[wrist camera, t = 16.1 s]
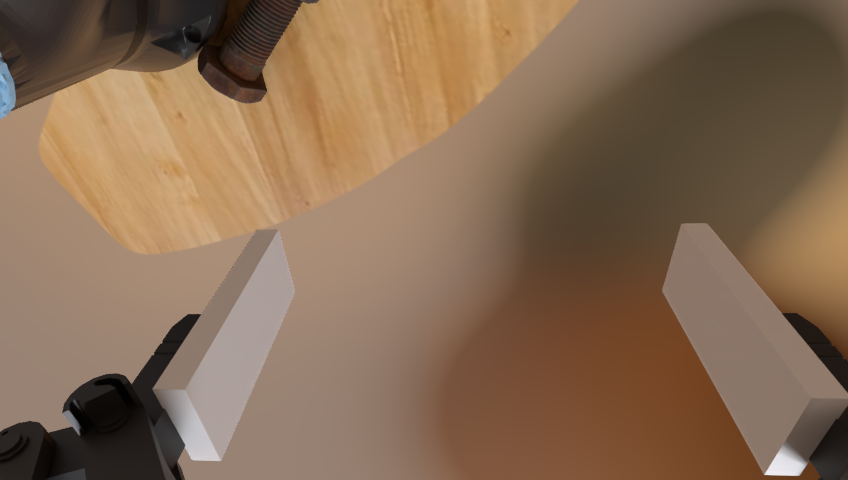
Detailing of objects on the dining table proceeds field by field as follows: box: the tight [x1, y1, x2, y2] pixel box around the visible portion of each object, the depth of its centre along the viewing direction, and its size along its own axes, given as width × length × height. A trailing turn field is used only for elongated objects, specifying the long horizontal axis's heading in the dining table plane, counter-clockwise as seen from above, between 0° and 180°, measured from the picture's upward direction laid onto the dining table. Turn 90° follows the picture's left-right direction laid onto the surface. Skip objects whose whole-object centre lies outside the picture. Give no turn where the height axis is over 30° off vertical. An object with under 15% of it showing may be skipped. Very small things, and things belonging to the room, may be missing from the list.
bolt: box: [198, 0, 319, 103], centre depth 37 cm, size 6×5×15 cm
